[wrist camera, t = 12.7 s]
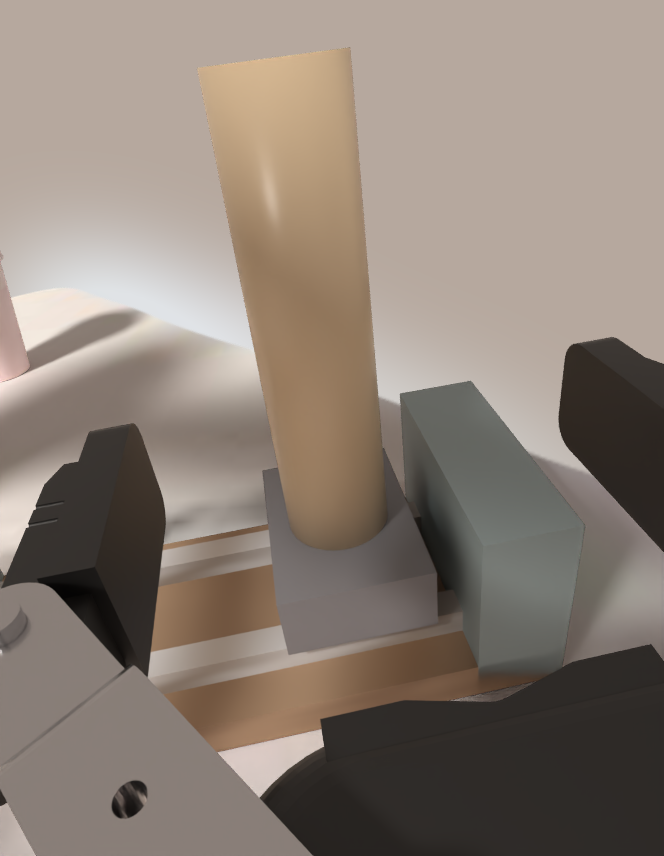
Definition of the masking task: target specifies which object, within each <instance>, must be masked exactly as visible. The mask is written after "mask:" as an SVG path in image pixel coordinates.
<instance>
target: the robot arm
mask: <svg viewBox="0 0 664 856" xmlns="http://www.w3.org/2000/svg"><path fill="white" fill-rule="evenodd" d="M559 428H560V432H561V436H562V438H563V441H564V443H565V444H566V446H567V447H568V449H569V450H570V451H571V452H572V453H573V454H574V455H575V456H576V457H577V458H578V459H579V461H581V463H582V464H583V465H584V466H585V467H586V468H587V469H588V470H589V471H590V473H591V474H592V475H593V476H594V477H595V478H596V479H597V480H598V481H599V482H600V483H601V485H602V486H603V487H604V488H605V489H606V490H607V491H608V492H609V493H610V494H611V495H612V496H613V498H614V499H615V500H616V501H617V502H618V503H619V504H620V505H621V506H622V507H623V508H624V510H625V511H626V512H627V513H628V514H629V515H630V516H631V517H632V518H633V519H634V520H635V521H636V523H637V524H638V525H639V526H640V527H641V528H642V529H643V530H644V531H645V532H646V533H647V535H648V536H649V537H650V538H651V539H652V540H653V541H654V542H655V543H656V544H657V545H658V546H659V548H660V549H661V550H662V551H663V552H664V364H662V363H659V362H657V361H654V360H651V359H648V358H645V357H643V356H642V355H641V354H639V353H638V352H636V351H635V350H633V349H632V348H630V347H629V346H627V345H626V344H624V343H623V342H622V341H620V340H618V339H617V338H614V337H610V338H605V339H599V340H594V341H588V342H583V343H577V344H573V345H571V346H570V347H569V349H568V350H567V352H566V356H565V363H564V371H563V380H562V390H561V399H560V409H559ZM28 524H29V528H26V530H25V532H24V535H23V537H22V539H21V542H20V544H19V546H18V549H17V551H16V554H15V556H14V558H13V561H12V563H11V566H10V568H9V570H8V573H7V575H6V577H5V580H4V582H3V585H2V587H1V589H0V806H2V805H4V804H5V803H8V805H9V807H10V808H11V810H12V812H13V814H14V816H15V818H16V820H17V821H18V823H19V825H20V827H21V829H22V831H23V833H24V834H25V836H26V838H27V840H28V842H29V844H30V846H31V847H32V849H33V851H34V853H35V855H36V856H664V661H663V659H662V658H661V657H660V655H659V654H658V653H657V651H656V650H655V649H654V647H653V646H652V645H651V644H650V645H645V646H641V647H636V648H632V649H628V650H623V651H619V652H614V653H610V654H606V655H601V656H597V657H592V658H588V659H583V660H579V661H575V662H572V663H570V664H568V665H566V666H564V667H562V668H561V669H559V670H557V671H555V672H553V673H551V674H550V675H548V676H546V677H544V678H542V679H540V680H539V681H537V682H535V683H533V684H531V685H529V686H528V687H526V688H524V689H522V690H520V691H518V692H517V693H515V694H513V695H511V696H509V697H507V698H505V699H503V700H500V701H496V702H466V701H422V700H402V701H398V702H393V703H389V704H385V705H380V706H376V707H371V708H367V709H363V710H358V711H354V712H349V713H345V714H340V715H336V716H332V717H327V718H323V719H320V722H321V729H322V735H323V741H324V747H322V748H321V749H319V750H317V751H315V752H313V753H312V754H310V755H308V756H306V757H305V758H304V759H302V760H301V761H299V762H298V763H297V764H295V765H294V766H292V767H291V768H289V769H288V770H287V771H286V772H285V773H284V774H283V775H282V776H280V777H279V778H278V779H277V780H276V781H275V782H274V783H273V784H272V785H271V786H270V787H269V788H268V789H267V790H266V791H265V792H264V794H263V795H262V796H261V797H260V798H259V797H258V796H257V795H256V794H255V793H254V792H253V791H252V790H251V789H250V787H249V786H248V785H247V784H246V783H245V782H244V781H243V780H242V779H241V778H240V777H239V776H238V775H237V773H236V772H235V771H234V770H233V769H232V768H231V767H230V766H229V765H228V764H227V763H226V762H225V761H224V759H223V758H222V757H221V756H220V755H219V754H218V753H217V752H216V751H215V750H214V749H213V748H212V747H211V745H210V744H209V743H208V742H207V741H206V740H205V739H204V738H203V737H202V736H201V735H200V734H199V733H198V731H197V730H196V729H195V728H194V727H193V726H192V725H191V724H190V723H189V722H188V721H187V720H186V719H185V717H184V716H183V715H182V714H181V713H180V712H179V711H178V710H177V709H176V708H175V707H174V706H173V705H172V704H171V702H170V701H169V700H168V699H167V698H166V697H165V696H164V695H163V694H162V693H161V692H160V691H159V690H158V688H157V687H156V686H155V685H154V684H153V683H152V682H151V681H150V680H149V679H148V672H149V663H150V654H151V646H152V637H153V629H154V620H155V612H156V603H157V594H158V586H159V577H160V569H161V560H162V552H163V543H164V534H165V525H166V518H165V508H164V502H163V498H162V494H161V491H160V488H159V485H158V482H157V479H156V476H155V473H154V471H153V468H152V465H151V462H150V459H149V456H148V453H147V451H146V448H145V445H144V442H143V439H142V436H141V434H140V431H139V429H138V428H137V426H136V425H135V424H127V425H122V426H116V427H111V428H105V429H100V430H94V431H90V432H89V434H88V436H87V439H86V442H85V445H84V447H83V450H82V453H81V456H80V459H79V461H78V462H74V463H68V464H64V465H63V466H62V467H61V468H60V469H59V470H58V471H57V472H56V473H55V474H54V475H53V476H52V477H51V478H50V479H49V480H48V481H47V483H46V484H45V485H44V487H43V489H42V492H41V494H40V496H39V499H38V501H37V504H36V510H34V511H33V513H32V515H31V518H30V520H29V523H28Z"/></svg>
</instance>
